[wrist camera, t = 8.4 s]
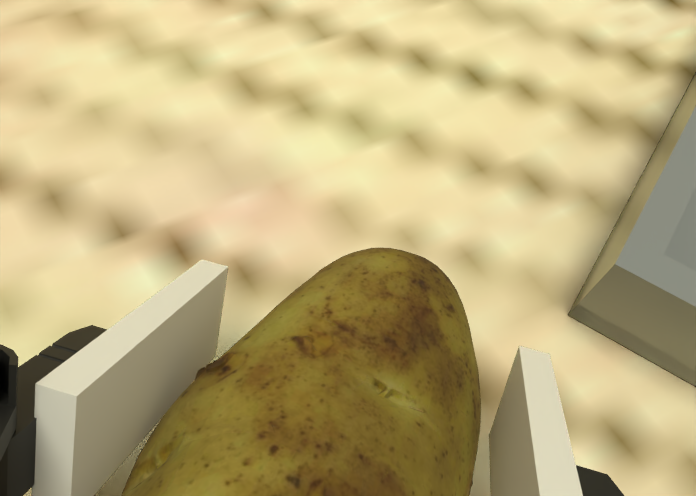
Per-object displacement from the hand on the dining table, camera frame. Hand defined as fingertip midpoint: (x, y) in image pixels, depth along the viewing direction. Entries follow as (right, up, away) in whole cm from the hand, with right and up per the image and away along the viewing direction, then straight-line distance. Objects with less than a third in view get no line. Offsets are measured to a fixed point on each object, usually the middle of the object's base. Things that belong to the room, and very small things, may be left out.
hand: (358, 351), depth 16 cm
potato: (-1, -5, +2) cm, 5 cm away
